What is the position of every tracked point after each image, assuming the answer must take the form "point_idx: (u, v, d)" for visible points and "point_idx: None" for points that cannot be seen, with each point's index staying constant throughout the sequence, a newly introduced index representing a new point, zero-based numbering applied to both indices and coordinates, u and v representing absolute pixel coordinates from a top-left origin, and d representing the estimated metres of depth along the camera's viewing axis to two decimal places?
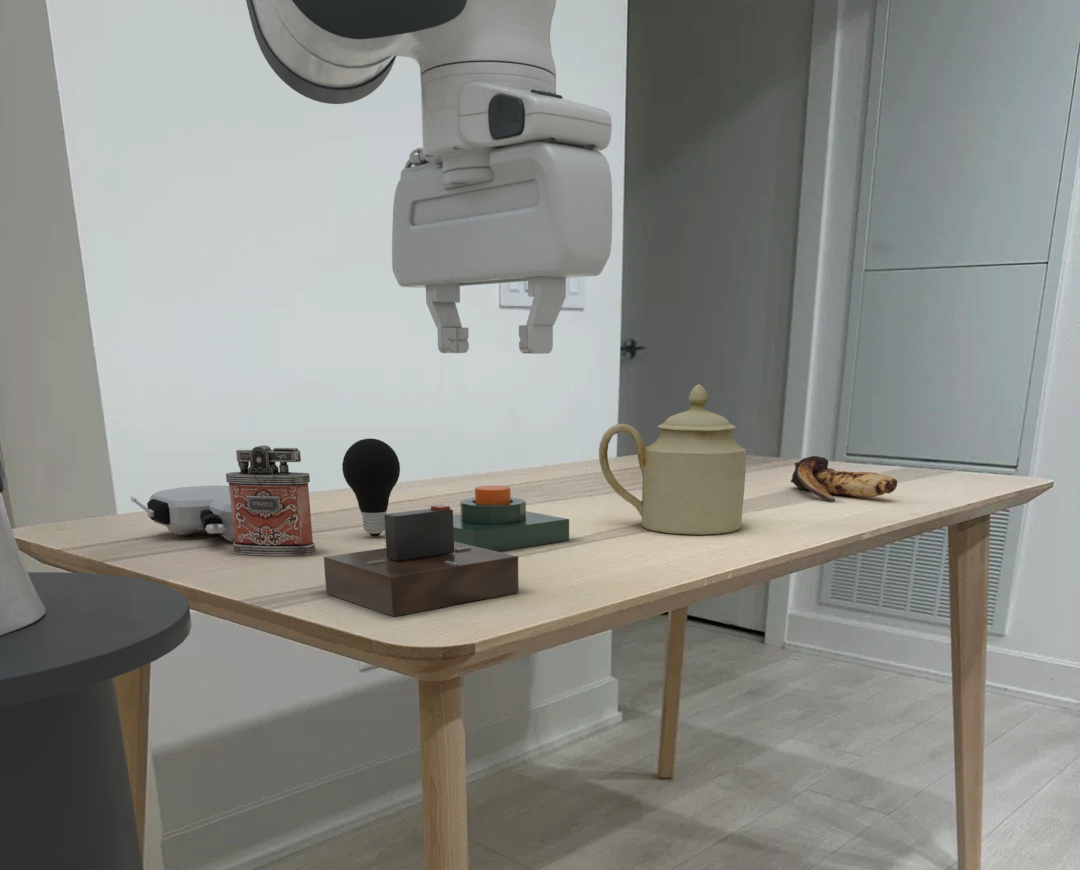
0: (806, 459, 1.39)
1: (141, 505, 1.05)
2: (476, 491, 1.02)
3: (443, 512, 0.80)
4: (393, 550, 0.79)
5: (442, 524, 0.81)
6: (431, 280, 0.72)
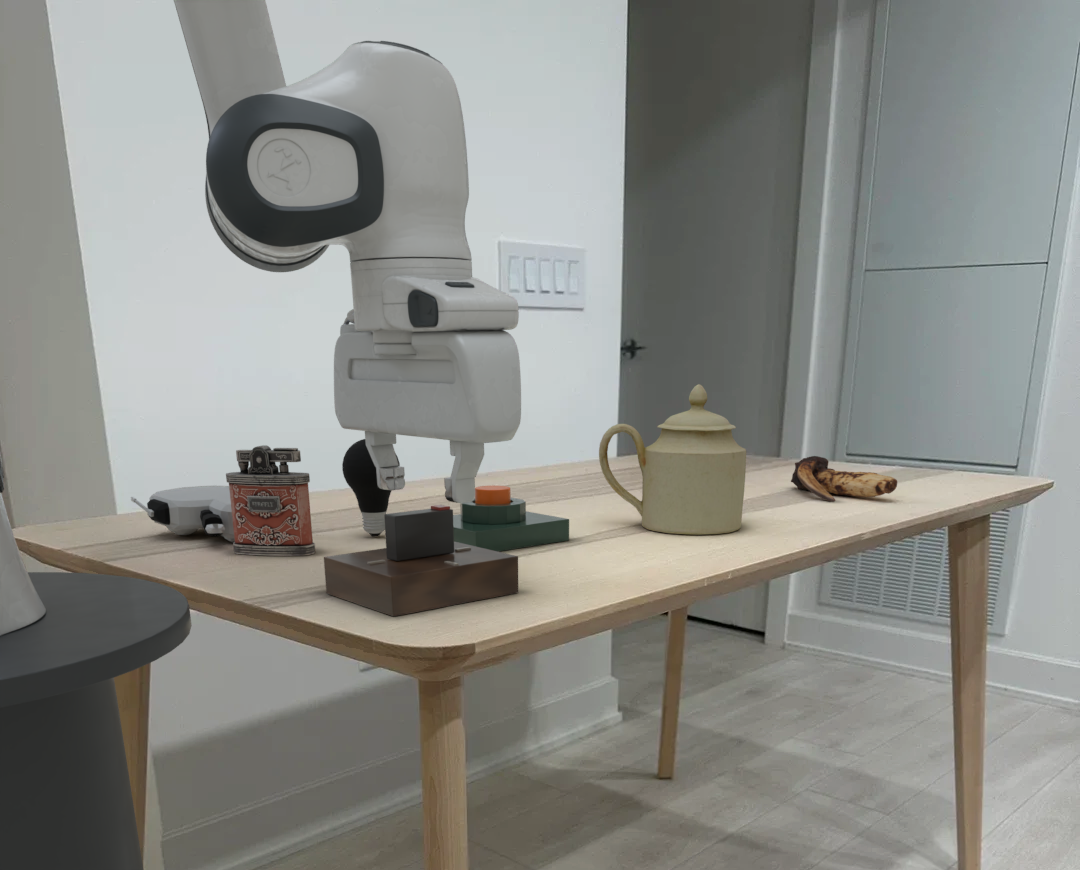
0: (806, 459, 1.39)
1: (141, 505, 1.05)
2: (476, 491, 1.02)
3: (443, 512, 0.80)
4: (393, 550, 0.79)
5: (442, 524, 0.81)
6: (368, 428, 0.80)
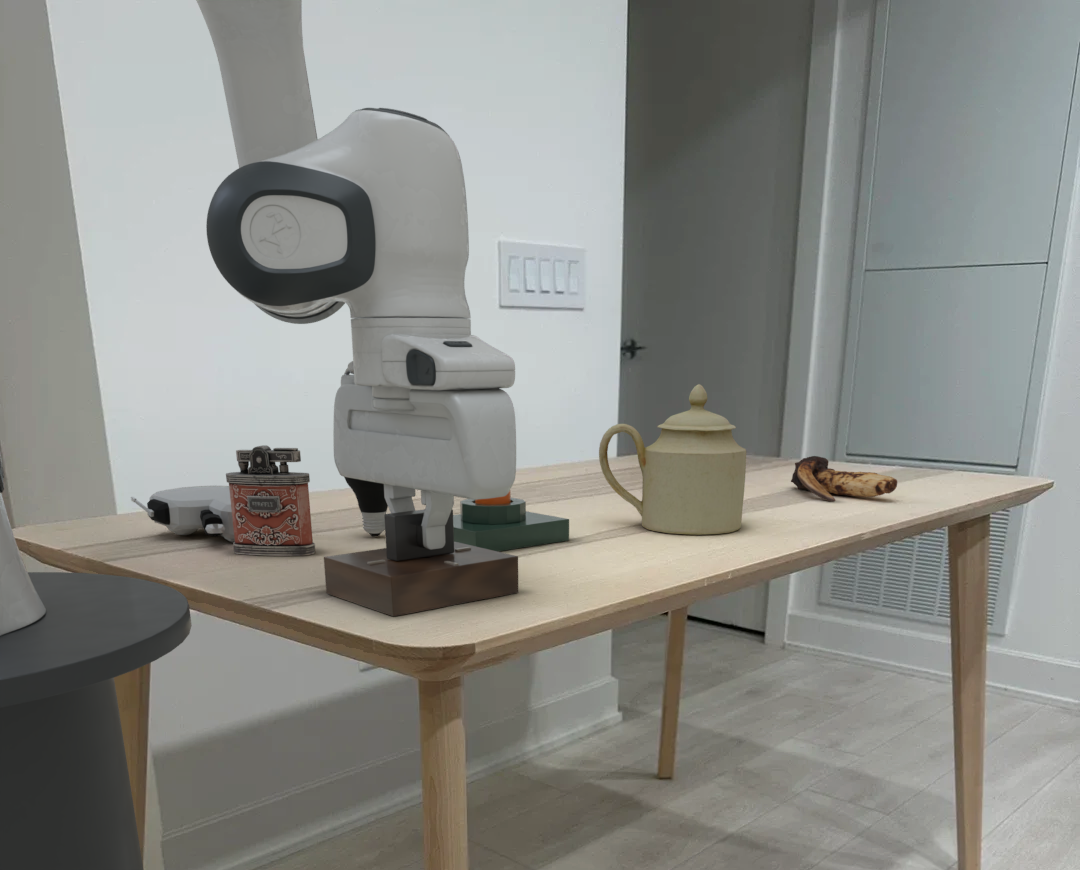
0: (806, 459, 1.39)
1: (141, 505, 1.05)
2: None
3: None
4: (393, 550, 0.79)
5: None
6: (366, 478, 0.81)
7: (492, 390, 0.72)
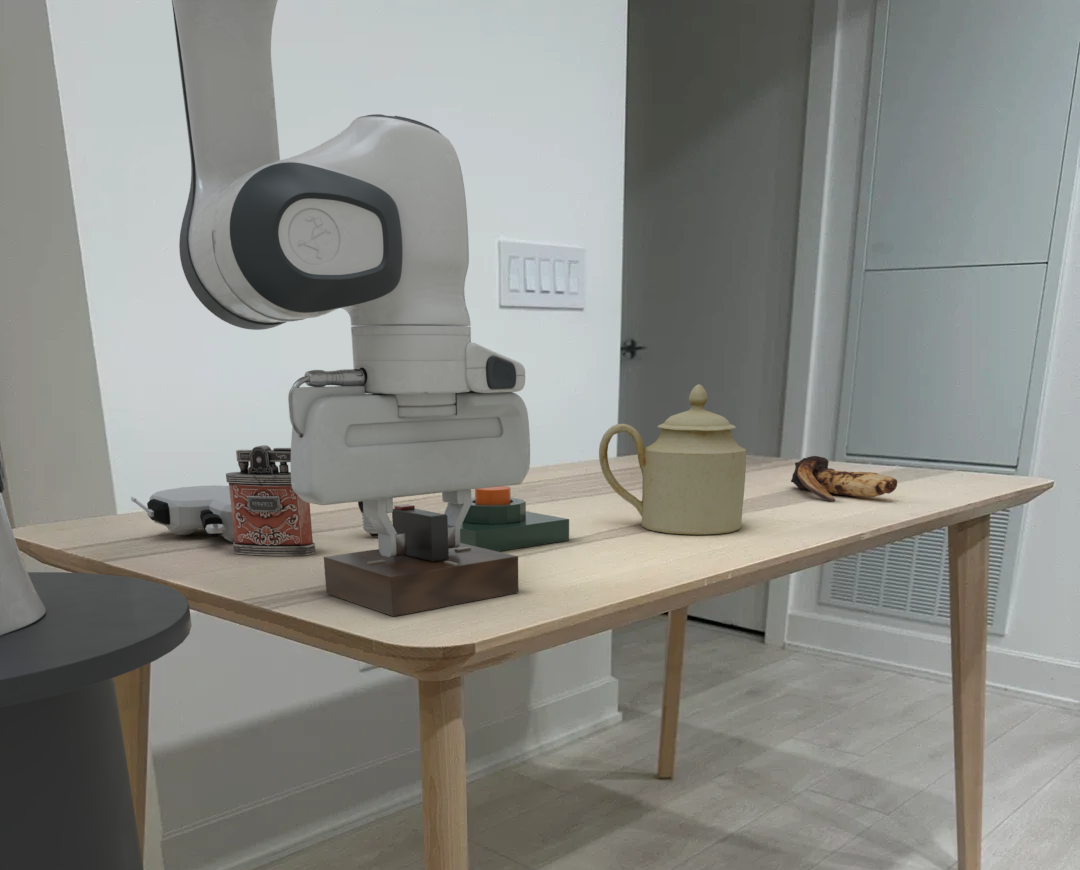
0: (806, 459, 1.39)
1: (141, 505, 1.05)
2: (476, 491, 1.02)
3: (414, 510, 0.82)
4: (443, 550, 0.79)
5: None
6: (376, 496, 0.75)
7: None
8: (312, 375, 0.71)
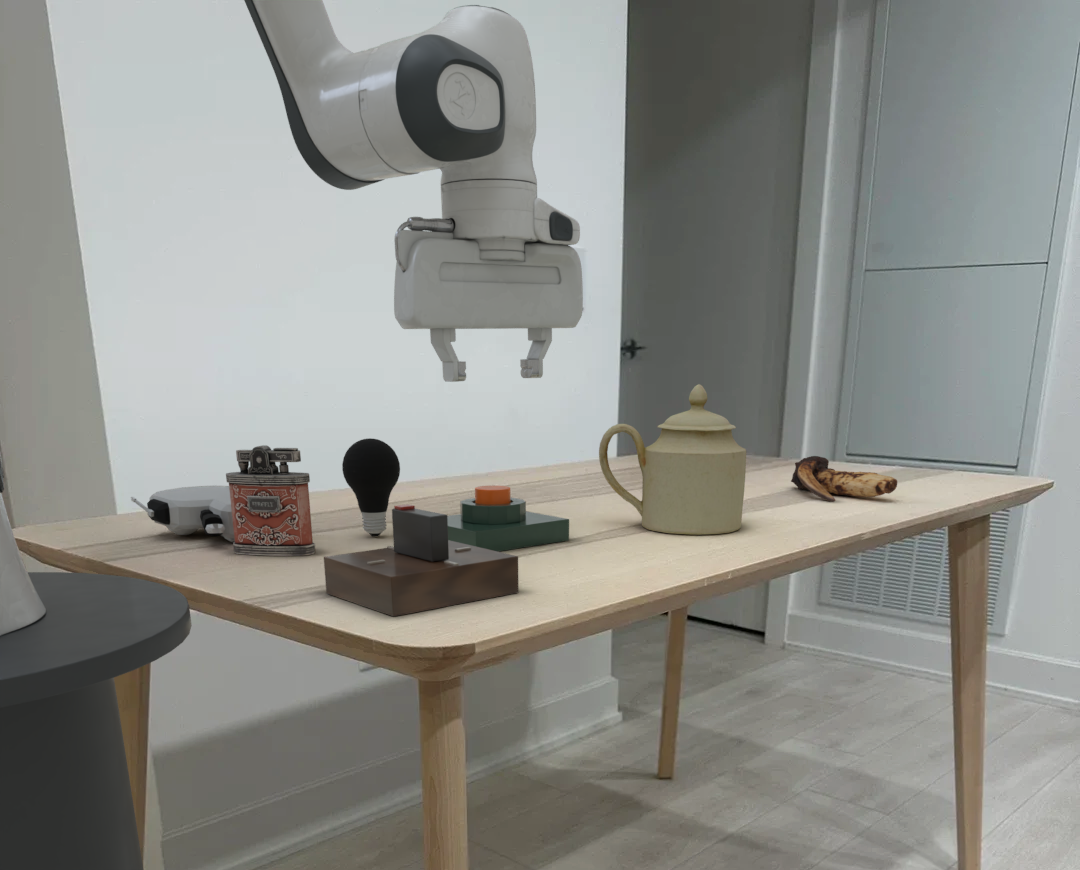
0: (806, 459, 1.39)
1: (141, 505, 1.05)
2: (476, 491, 1.02)
3: (414, 510, 0.82)
4: (443, 550, 0.79)
5: None
6: (462, 325, 0.93)
7: None
8: (413, 220, 0.88)
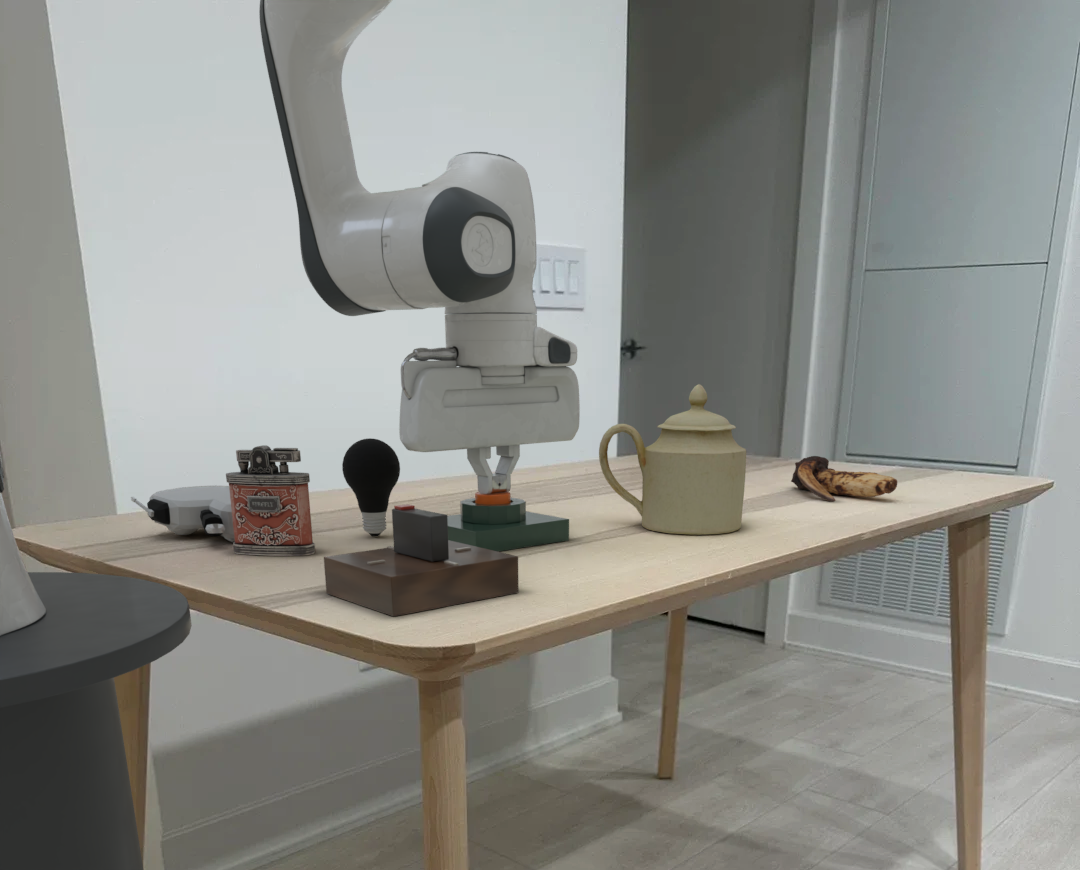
0: (806, 459, 1.39)
1: (141, 505, 1.05)
2: (476, 496, 1.02)
3: (414, 510, 0.82)
4: (443, 550, 0.79)
5: None
6: (464, 446, 0.97)
7: None
8: (419, 351, 0.92)
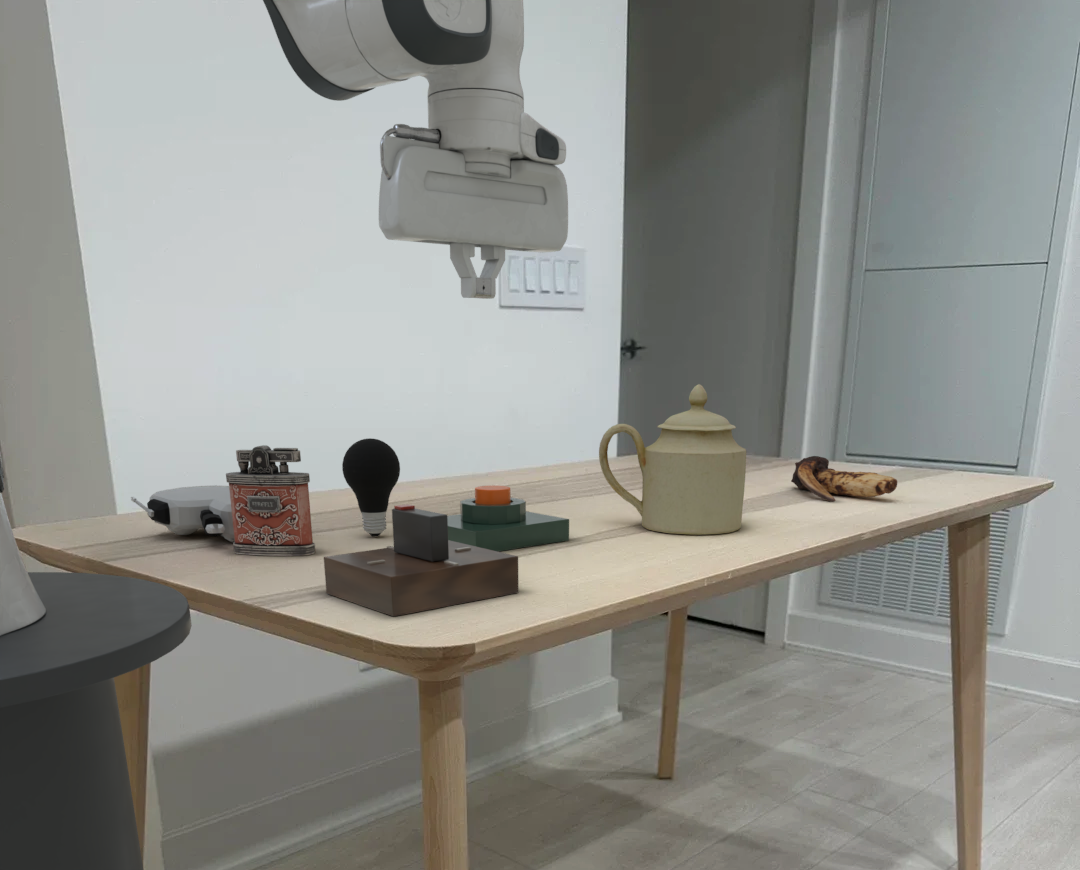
0: (806, 459, 1.39)
1: (141, 505, 1.05)
2: (476, 491, 1.02)
3: (414, 510, 0.82)
4: (443, 550, 0.79)
5: None
6: (446, 237, 0.93)
7: None
8: (399, 127, 0.88)
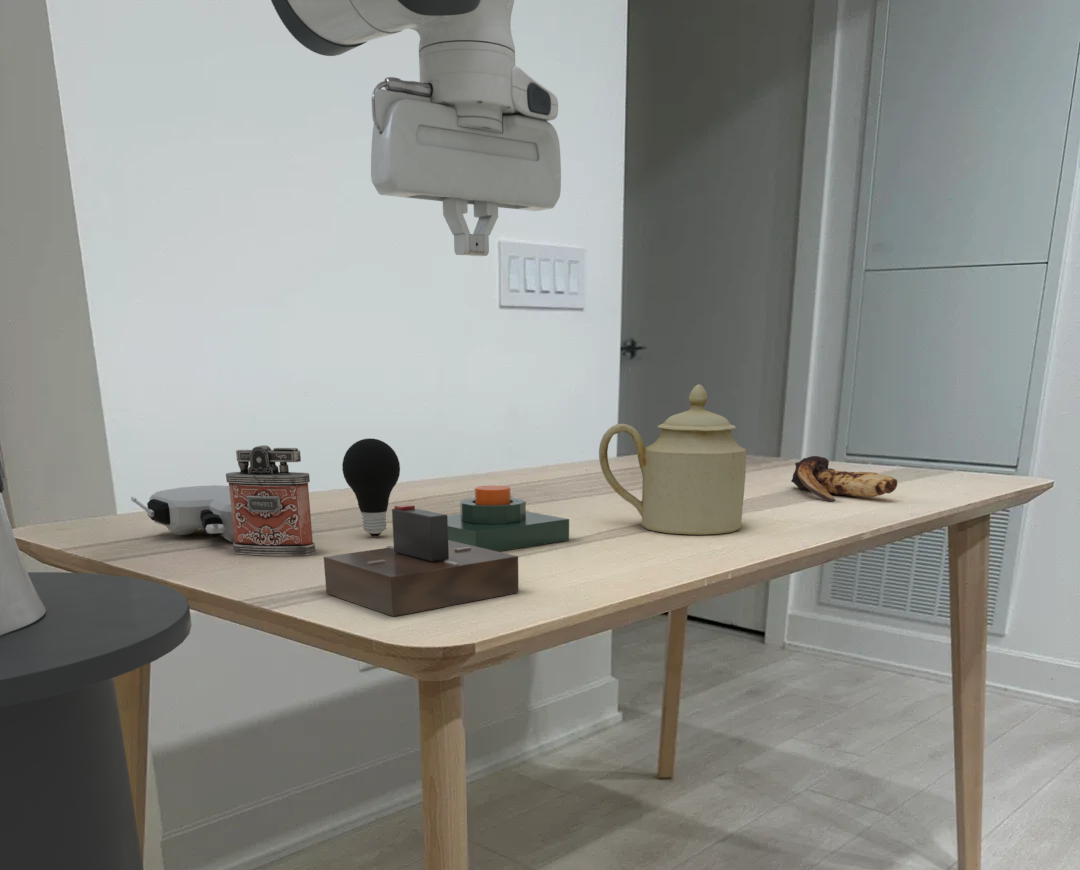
0: (806, 459, 1.39)
1: (141, 505, 1.05)
2: (476, 491, 1.02)
3: (414, 510, 0.82)
4: (443, 550, 0.79)
5: None
6: (439, 192, 0.93)
7: None
8: (390, 80, 0.88)
